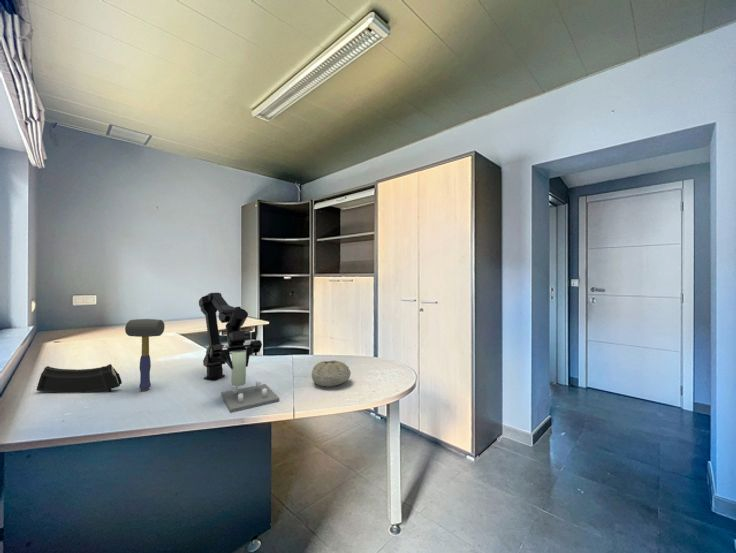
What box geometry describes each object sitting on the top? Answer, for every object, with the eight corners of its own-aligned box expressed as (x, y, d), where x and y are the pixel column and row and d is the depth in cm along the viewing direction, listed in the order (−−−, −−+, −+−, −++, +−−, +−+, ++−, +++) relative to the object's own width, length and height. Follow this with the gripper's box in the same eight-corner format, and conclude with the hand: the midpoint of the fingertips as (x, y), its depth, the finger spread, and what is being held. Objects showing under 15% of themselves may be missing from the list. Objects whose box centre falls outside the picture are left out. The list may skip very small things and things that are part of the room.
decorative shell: (319, 375, 153) (319, 355, 153) (354, 378, 149) (354, 358, 149) (305, 388, 135) (305, 366, 135) (344, 392, 132) (344, 369, 132)
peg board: (220, 395, 126) (221, 385, 126) (265, 386, 137) (265, 377, 137) (230, 412, 112) (230, 401, 111) (279, 401, 122) (279, 390, 122)
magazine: (29, 371, 124) (105, 349, 126) (37, 369, 127) (111, 347, 130) (42, 411, 125) (118, 389, 127) (50, 408, 128) (124, 386, 130)
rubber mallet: (165, 386, 135) (166, 317, 134) (155, 393, 127) (156, 320, 127) (134, 386, 133) (135, 317, 133) (123, 393, 126) (123, 320, 125)
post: (228, 384, 120) (228, 352, 119) (238, 380, 125) (238, 349, 124) (238, 386, 118) (239, 354, 118) (248, 382, 123) (249, 350, 123)
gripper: (211, 324, 119) (215, 360, 110) (261, 320, 129) (268, 353, 120) (208, 340, 126) (212, 375, 117) (255, 336, 136) (262, 367, 127)
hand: (239, 367), depth 120 cm, fingers closed on post, 5 cm apart
